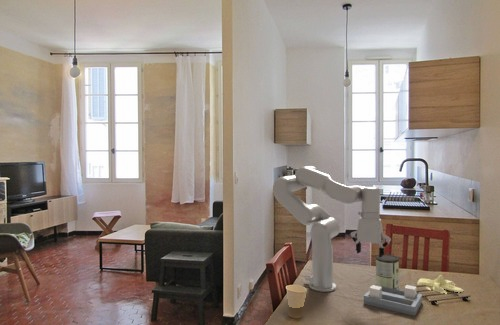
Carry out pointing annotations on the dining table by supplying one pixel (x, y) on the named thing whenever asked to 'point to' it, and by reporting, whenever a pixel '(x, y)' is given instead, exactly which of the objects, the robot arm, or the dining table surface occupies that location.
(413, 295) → the tab
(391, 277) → the coffee can
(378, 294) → the tab
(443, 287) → the cloth
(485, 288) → the dining table surface
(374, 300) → the switch board
